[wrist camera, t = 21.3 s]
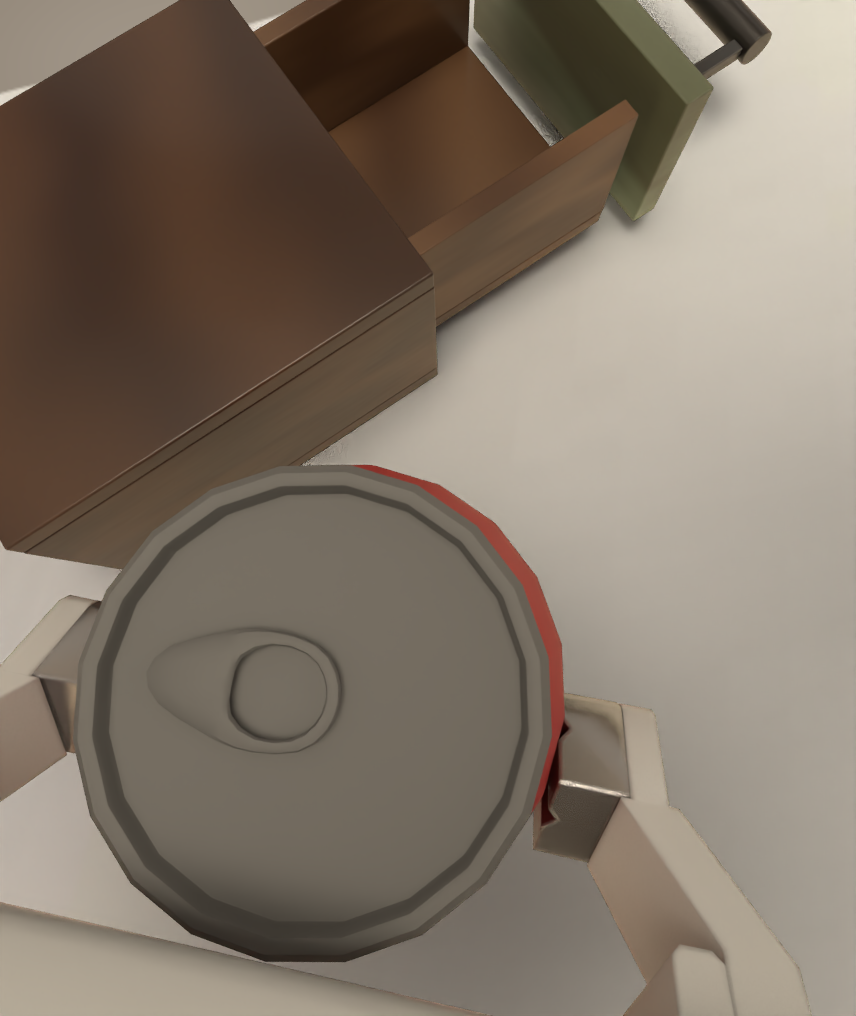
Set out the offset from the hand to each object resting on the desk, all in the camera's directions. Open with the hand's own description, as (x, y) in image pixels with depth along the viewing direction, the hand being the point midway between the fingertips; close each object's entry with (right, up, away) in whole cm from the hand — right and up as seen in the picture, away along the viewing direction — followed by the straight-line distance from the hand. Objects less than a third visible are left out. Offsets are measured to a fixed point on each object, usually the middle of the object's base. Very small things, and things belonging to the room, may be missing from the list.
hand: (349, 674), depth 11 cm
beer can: (0, -2, +9) cm, 9 cm away
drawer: (+5, +19, +20) cm, 28 cm away
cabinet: (-9, +10, +19) cm, 24 cm away
